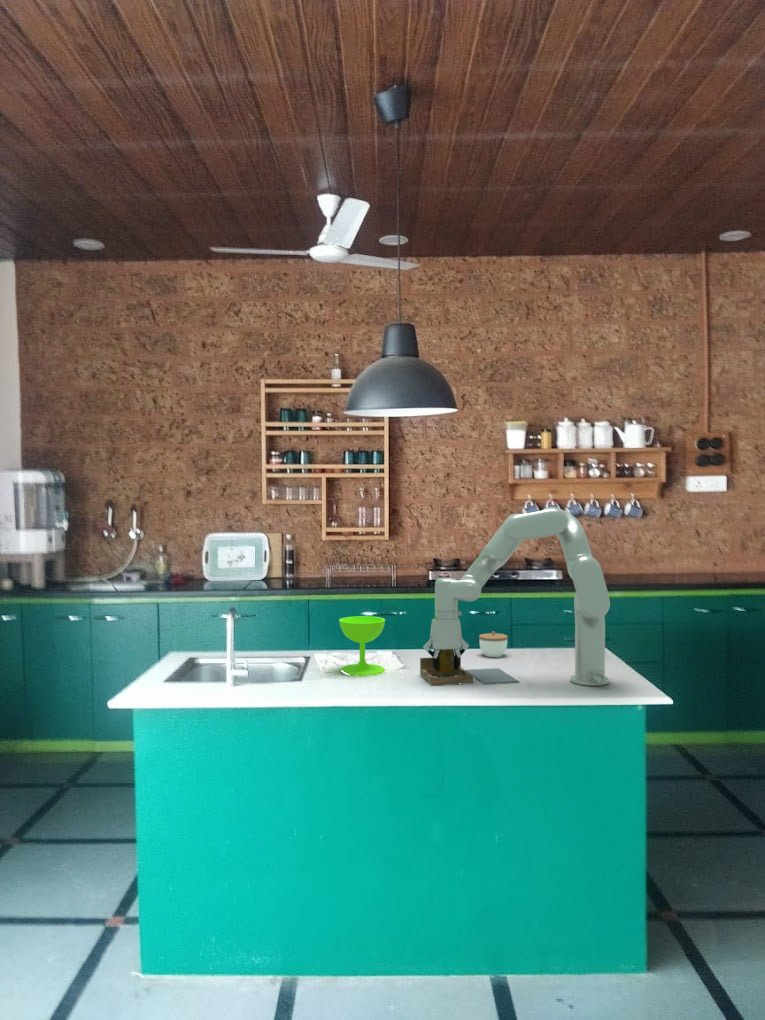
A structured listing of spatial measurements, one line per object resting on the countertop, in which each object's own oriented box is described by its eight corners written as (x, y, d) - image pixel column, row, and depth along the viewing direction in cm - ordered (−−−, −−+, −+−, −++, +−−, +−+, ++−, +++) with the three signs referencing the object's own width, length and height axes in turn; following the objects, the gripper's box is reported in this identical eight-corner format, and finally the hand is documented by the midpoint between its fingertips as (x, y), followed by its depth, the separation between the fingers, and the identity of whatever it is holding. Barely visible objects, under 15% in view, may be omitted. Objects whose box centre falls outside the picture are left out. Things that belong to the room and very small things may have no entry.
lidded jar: (500, 652, 327) (500, 628, 327) (512, 658, 317) (512, 633, 316) (474, 654, 324) (474, 629, 324) (485, 659, 314) (485, 634, 314)
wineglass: (377, 677, 285) (377, 624, 285) (332, 674, 290) (332, 622, 289) (390, 667, 300) (390, 617, 300) (348, 665, 305) (348, 615, 305)
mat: (518, 682, 277) (518, 681, 277) (483, 684, 275) (483, 682, 275) (498, 669, 297) (498, 668, 297) (465, 671, 294) (465, 669, 294)
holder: (473, 683, 276) (473, 665, 276) (431, 685, 273) (431, 667, 273) (459, 673, 291) (459, 656, 291) (420, 675, 288) (420, 657, 288)
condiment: (446, 676, 287) (446, 640, 287) (463, 680, 281) (463, 644, 280) (430, 679, 283) (430, 643, 282) (447, 683, 276) (447, 647, 276)
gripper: (467, 612, 286) (467, 665, 287) (418, 614, 283) (418, 667, 283) (474, 616, 279) (474, 670, 279) (423, 617, 275) (423, 672, 276)
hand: (446, 668), depth 281 cm, fingers closed on condiment, 6 cm apart
